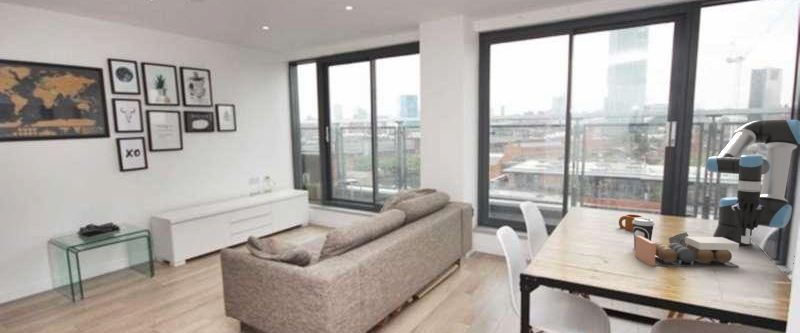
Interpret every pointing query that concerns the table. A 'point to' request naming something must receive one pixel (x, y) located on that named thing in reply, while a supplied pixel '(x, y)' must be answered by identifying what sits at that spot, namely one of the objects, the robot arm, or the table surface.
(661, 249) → the roller
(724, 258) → the roller
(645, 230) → the coffee cup
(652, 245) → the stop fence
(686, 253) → the roller
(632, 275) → the table surface
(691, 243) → the slab
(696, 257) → the roller
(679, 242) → the mineral specimen
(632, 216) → the mug
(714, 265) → the roller bed
